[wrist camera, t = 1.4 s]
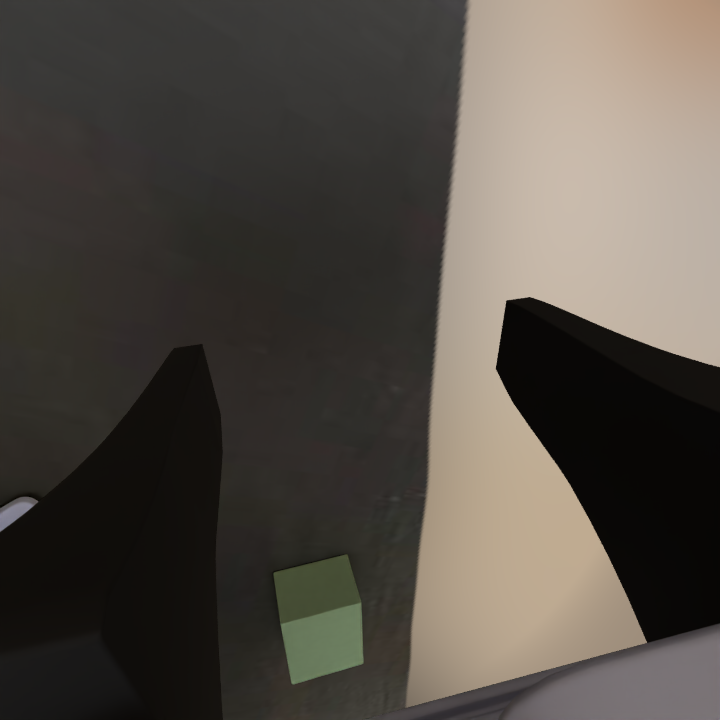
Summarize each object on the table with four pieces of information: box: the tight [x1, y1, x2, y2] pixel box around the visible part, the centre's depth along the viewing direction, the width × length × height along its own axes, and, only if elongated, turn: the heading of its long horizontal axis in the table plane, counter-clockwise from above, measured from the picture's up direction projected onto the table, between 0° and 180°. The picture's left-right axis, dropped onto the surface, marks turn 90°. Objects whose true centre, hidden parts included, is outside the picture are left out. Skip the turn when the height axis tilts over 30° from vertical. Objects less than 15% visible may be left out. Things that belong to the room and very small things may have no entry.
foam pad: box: [273, 554, 363, 685], centre depth 30 cm, size 6×4×3 cm
